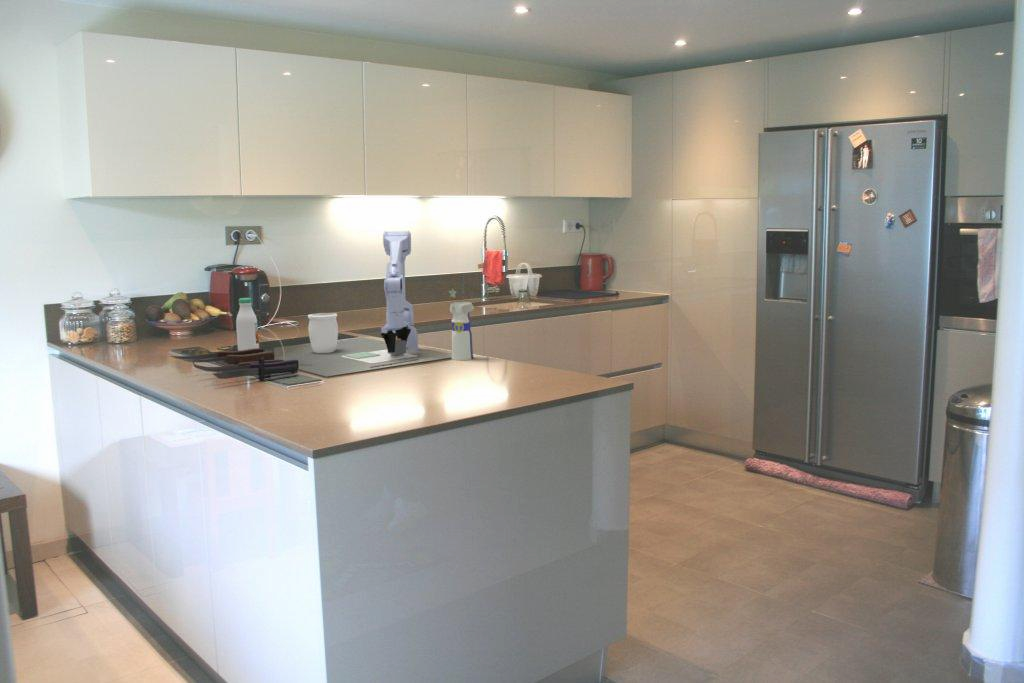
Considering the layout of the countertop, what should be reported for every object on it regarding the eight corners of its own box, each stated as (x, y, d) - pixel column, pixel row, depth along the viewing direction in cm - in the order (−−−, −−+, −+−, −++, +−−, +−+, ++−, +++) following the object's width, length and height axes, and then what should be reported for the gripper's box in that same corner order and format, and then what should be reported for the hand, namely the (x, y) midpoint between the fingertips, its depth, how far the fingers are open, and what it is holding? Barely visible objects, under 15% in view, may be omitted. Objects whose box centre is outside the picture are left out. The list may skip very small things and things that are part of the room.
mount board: (386, 353, 304) (385, 337, 303) (418, 360, 290) (417, 343, 289) (340, 360, 292) (340, 343, 291) (371, 367, 277) (370, 349, 276)
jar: (303, 356, 301) (301, 315, 299) (322, 352, 310) (320, 312, 308) (326, 358, 296) (324, 316, 294) (345, 353, 305) (343, 313, 303)
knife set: (168, 369, 274) (168, 346, 273) (264, 361, 295) (264, 340, 294) (207, 388, 247) (206, 362, 246) (309, 378, 268) (309, 354, 267)
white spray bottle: (471, 360, 286) (469, 288, 282) (447, 360, 288) (445, 288, 284) (477, 356, 294) (475, 286, 290) (454, 356, 296) (452, 286, 292)
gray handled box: (398, 351, 292) (398, 337, 292) (406, 353, 289) (405, 338, 288) (387, 353, 289) (387, 338, 289) (395, 355, 286) (394, 340, 285)
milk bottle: (252, 352, 312) (249, 299, 309) (234, 352, 313) (230, 299, 310) (263, 349, 319) (259, 297, 316) (244, 348, 321) (240, 297, 318)
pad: (366, 352, 298) (365, 351, 298) (379, 355, 291) (379, 354, 291) (343, 355, 292) (343, 354, 292) (357, 359, 285) (357, 357, 285)
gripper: (397, 309, 295) (399, 346, 297) (373, 314, 282) (374, 353, 284) (414, 309, 292) (415, 348, 294) (390, 314, 279) (392, 354, 281)
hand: (396, 350), depth 289 cm, fingers closed on gray handled box, 6 cm apart
